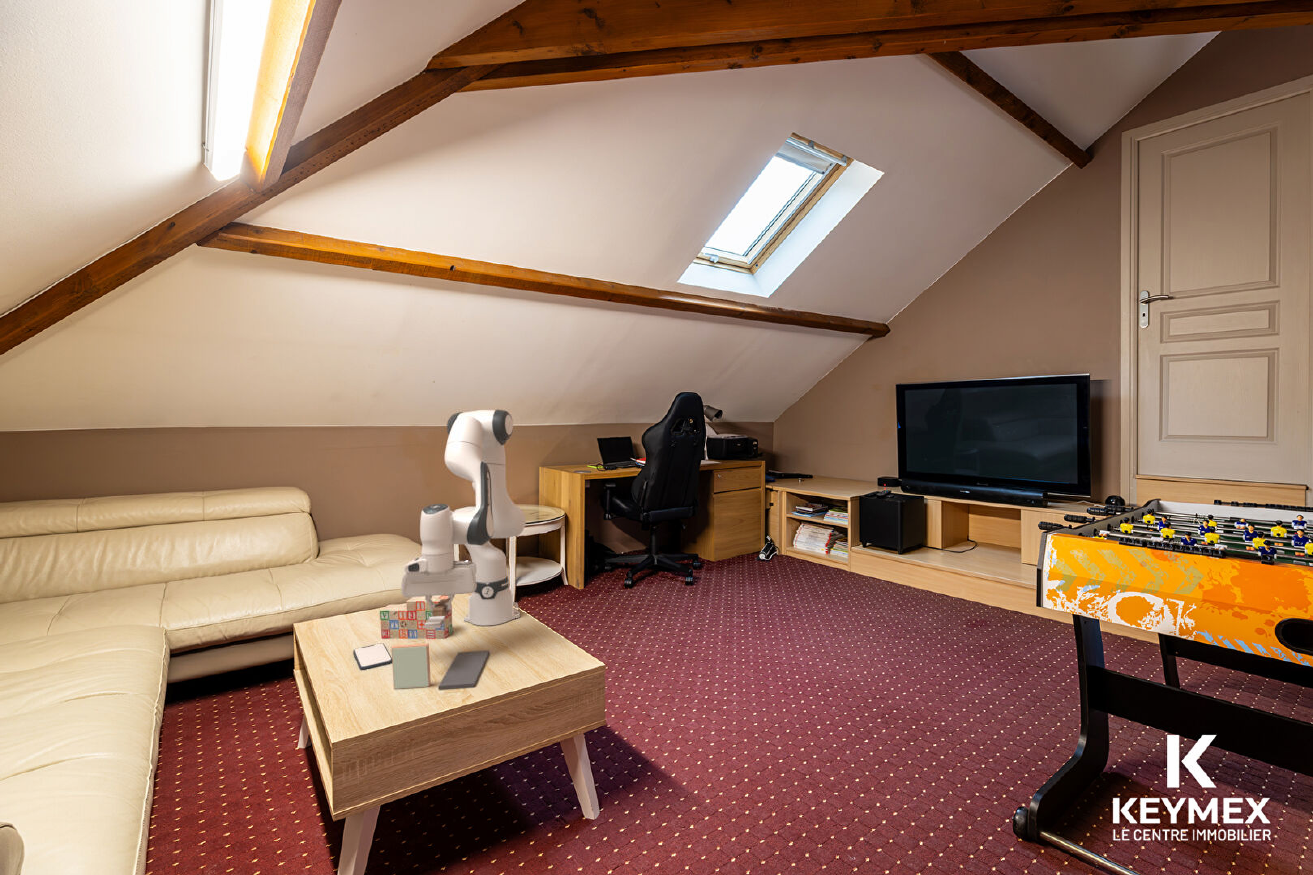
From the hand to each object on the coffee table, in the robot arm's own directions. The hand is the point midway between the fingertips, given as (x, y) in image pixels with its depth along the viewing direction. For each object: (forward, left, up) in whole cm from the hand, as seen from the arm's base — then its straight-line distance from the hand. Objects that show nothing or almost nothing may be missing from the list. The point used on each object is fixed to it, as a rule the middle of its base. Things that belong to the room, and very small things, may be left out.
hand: (440, 609), depth 177 cm
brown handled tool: (+2, 0, -2) cm, 3 cm away
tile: (+15, -4, -15) cm, 22 cm away
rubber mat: (+7, +8, -15) cm, 18 cm away
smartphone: (-7, -22, -16) cm, 28 cm away
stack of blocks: (-24, -14, -15) cm, 32 cm away
